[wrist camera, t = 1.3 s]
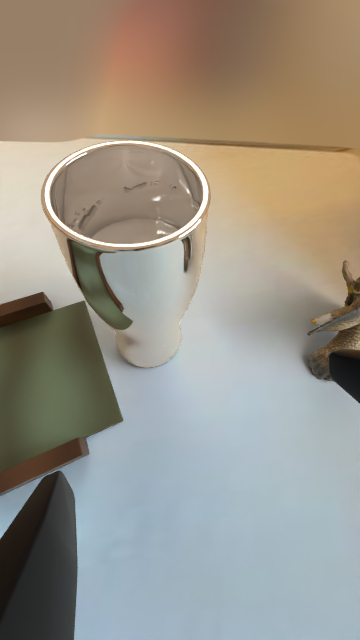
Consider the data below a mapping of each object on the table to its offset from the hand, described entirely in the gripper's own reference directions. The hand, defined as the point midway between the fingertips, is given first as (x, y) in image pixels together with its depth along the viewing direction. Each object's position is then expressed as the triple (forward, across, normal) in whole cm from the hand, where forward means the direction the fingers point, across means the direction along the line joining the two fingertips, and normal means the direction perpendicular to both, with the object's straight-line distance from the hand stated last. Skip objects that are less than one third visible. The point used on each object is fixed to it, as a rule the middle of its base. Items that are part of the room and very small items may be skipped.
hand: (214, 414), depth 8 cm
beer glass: (+16, 0, +3) cm, 16 cm away
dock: (+16, +13, +3) cm, 21 cm away
